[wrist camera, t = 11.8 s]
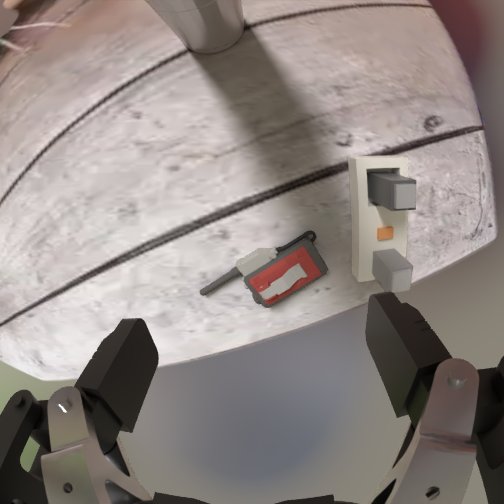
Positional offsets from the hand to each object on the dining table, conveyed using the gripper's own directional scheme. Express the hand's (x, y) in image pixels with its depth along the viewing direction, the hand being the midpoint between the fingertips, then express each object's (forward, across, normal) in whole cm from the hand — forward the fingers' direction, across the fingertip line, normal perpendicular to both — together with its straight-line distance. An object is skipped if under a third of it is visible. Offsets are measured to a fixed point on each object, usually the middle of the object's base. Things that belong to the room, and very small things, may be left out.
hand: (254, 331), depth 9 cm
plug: (+29, -17, +1) cm, 34 cm away
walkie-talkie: (+31, +1, +14) cm, 34 cm away
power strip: (+30, -17, +6) cm, 35 cm away
